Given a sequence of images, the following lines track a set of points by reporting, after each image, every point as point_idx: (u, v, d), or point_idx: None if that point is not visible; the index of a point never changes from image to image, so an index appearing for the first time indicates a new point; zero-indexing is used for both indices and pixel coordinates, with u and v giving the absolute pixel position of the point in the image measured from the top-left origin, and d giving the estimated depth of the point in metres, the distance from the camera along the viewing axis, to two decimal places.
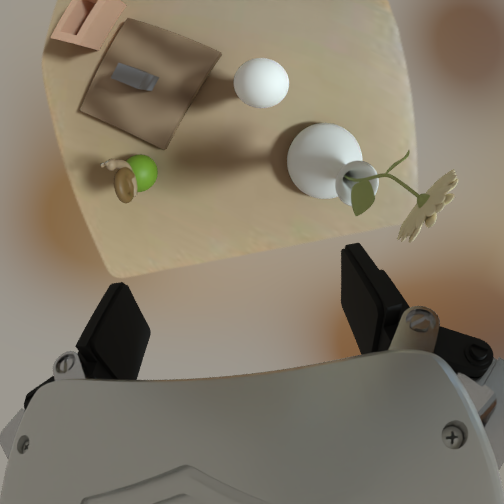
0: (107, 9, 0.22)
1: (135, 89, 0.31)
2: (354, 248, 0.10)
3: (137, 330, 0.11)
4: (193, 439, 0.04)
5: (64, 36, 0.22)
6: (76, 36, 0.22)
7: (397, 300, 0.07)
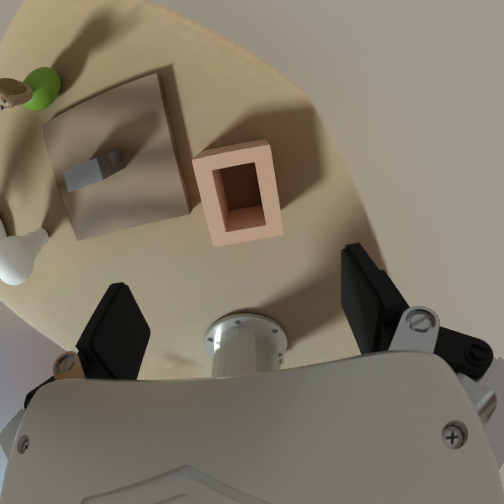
0: None
1: (104, 148, 0.26)
2: (354, 248, 0.10)
3: (137, 330, 0.11)
4: (193, 439, 0.04)
5: (236, 158, 0.23)
6: (210, 168, 0.23)
7: (397, 301, 0.07)
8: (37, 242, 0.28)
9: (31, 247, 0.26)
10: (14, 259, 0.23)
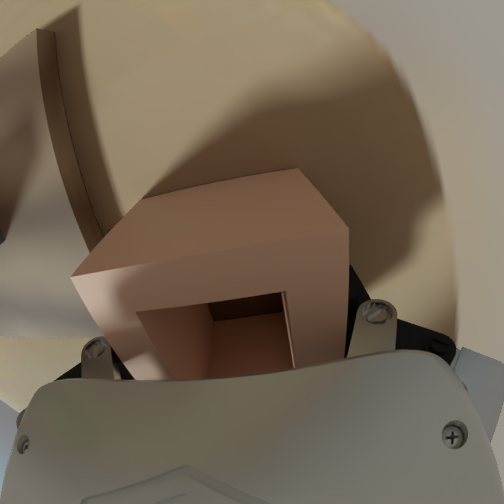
0: None
1: None
2: None
3: None
4: (193, 439, 0.04)
5: (215, 279, 0.06)
6: (129, 306, 0.06)
7: (354, 293, 0.08)
8: None
9: None
10: None
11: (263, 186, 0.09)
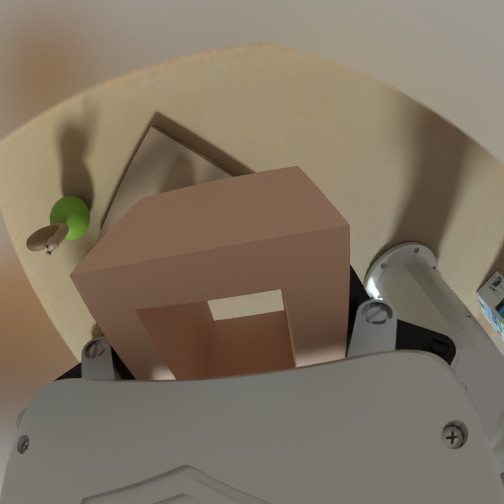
0: None
1: None
2: None
3: None
4: (193, 439, 0.04)
5: (215, 276, 0.06)
6: (129, 304, 0.06)
7: (354, 293, 0.08)
8: None
9: None
10: None
11: (263, 184, 0.09)
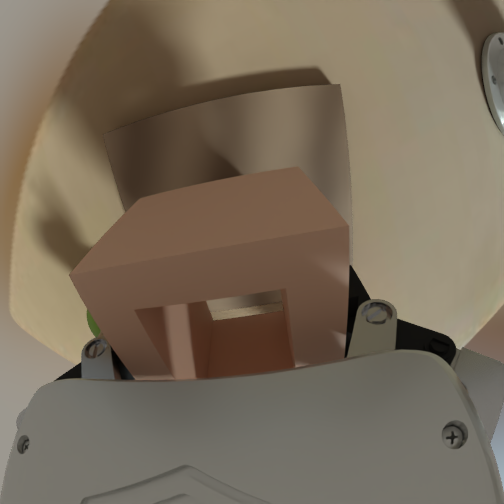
0: None
1: None
2: None
3: None
4: (193, 439, 0.04)
5: (215, 276, 0.06)
6: (128, 304, 0.06)
7: (354, 293, 0.08)
8: None
9: None
10: None
11: (263, 184, 0.09)
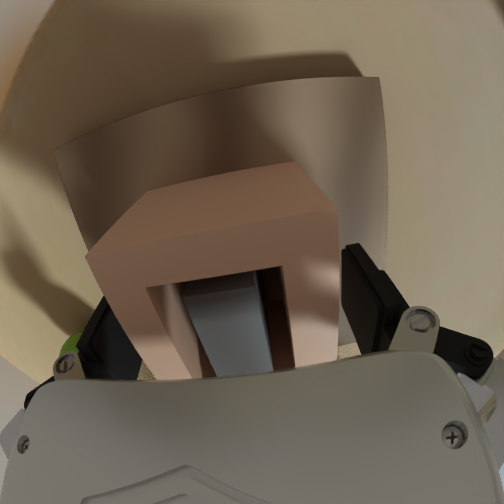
0: None
1: None
2: (354, 248, 0.10)
3: None
4: (193, 439, 0.04)
5: (219, 254, 0.07)
6: (139, 282, 0.07)
7: (397, 301, 0.07)
8: None
9: None
10: None
11: (262, 177, 0.10)
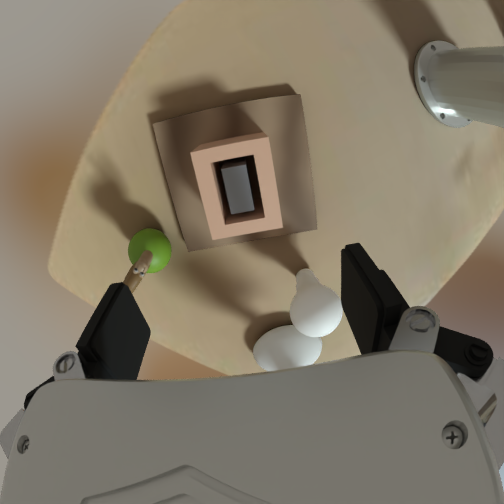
0: None
1: (222, 177, 0.29)
2: (354, 248, 0.10)
3: (137, 330, 0.11)
4: (193, 439, 0.04)
5: (235, 150, 0.22)
6: (208, 161, 0.23)
7: (397, 300, 0.07)
8: (308, 278, 0.34)
9: (308, 284, 0.32)
10: (313, 304, 0.28)
11: (249, 136, 0.26)
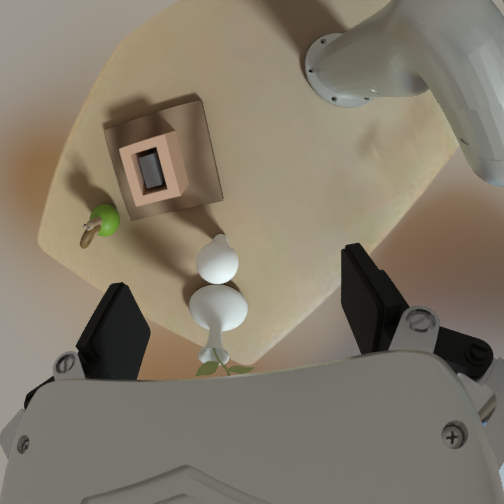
0: None
1: None
2: (354, 248, 0.10)
3: (137, 330, 0.11)
4: (193, 439, 0.04)
5: (144, 145, 0.32)
6: (129, 153, 0.32)
7: (397, 301, 0.07)
8: (217, 239, 0.43)
9: None
10: (207, 254, 0.38)
11: None
